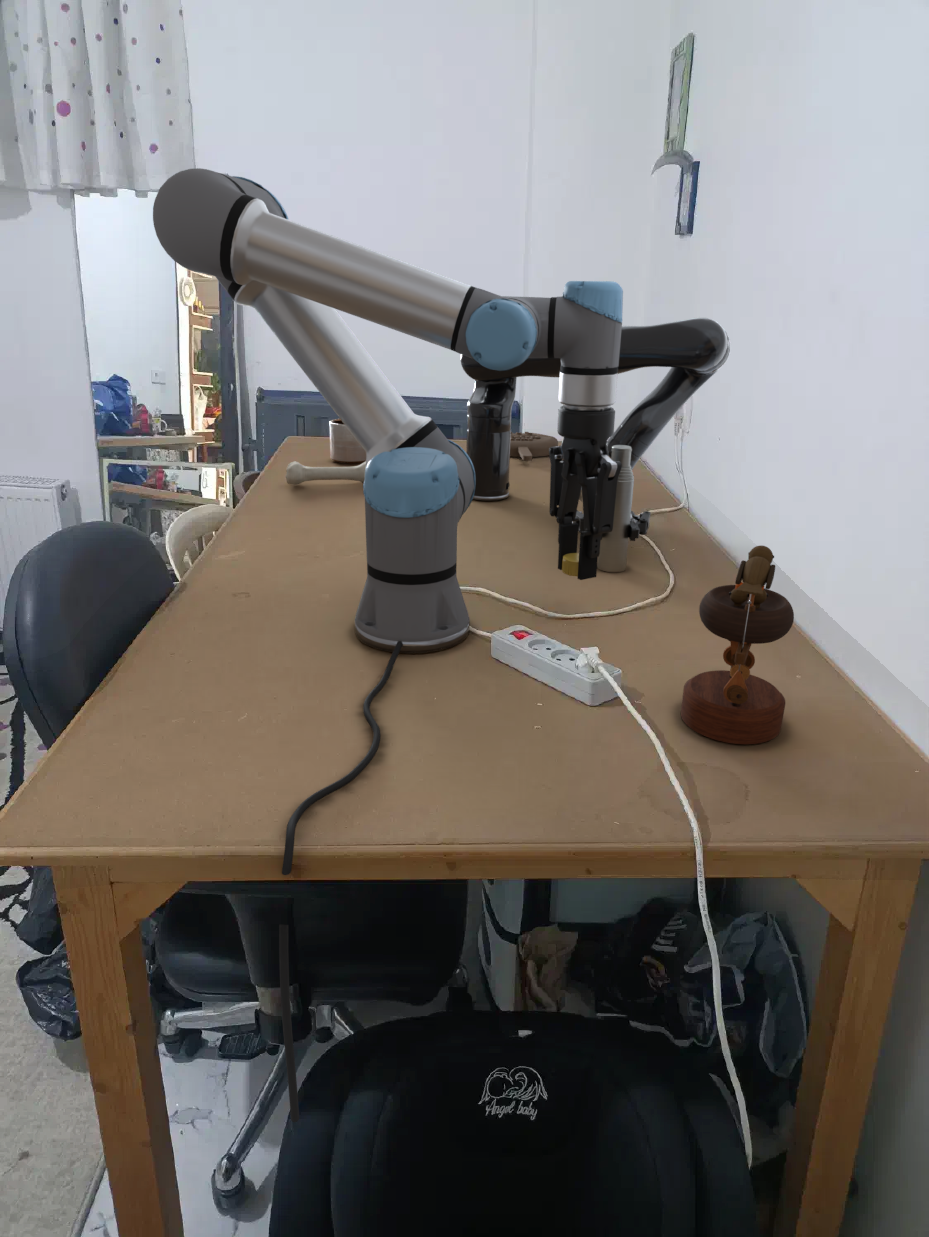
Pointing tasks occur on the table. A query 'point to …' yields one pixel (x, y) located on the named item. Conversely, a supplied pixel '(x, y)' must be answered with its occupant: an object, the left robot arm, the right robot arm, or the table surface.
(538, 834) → the table surface
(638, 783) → the table surface
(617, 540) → the bottle
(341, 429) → the planter
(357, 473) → the dog toy
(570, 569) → the cap
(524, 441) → the ice cream bar
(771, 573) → the brown tiered piece
